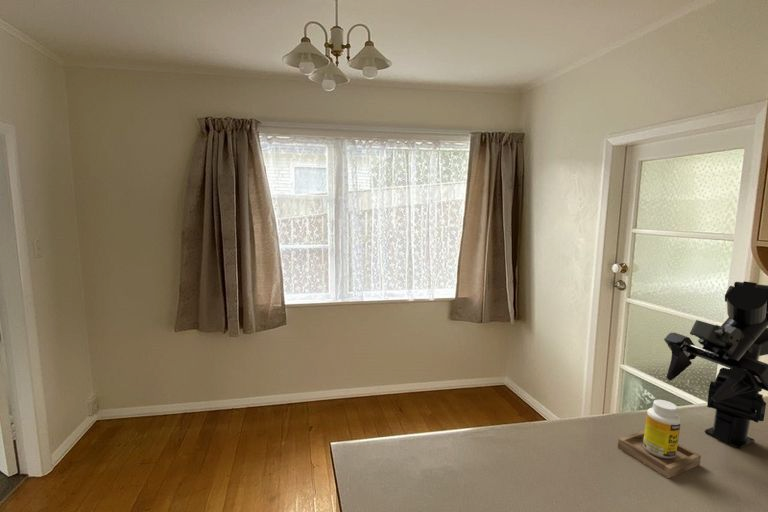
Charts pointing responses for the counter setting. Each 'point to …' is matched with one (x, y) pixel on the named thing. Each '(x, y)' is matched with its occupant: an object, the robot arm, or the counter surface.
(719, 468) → the counter surface
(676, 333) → the robot arm
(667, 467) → the walnut tray
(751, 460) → the counter surface
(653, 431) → the supplement bottle
